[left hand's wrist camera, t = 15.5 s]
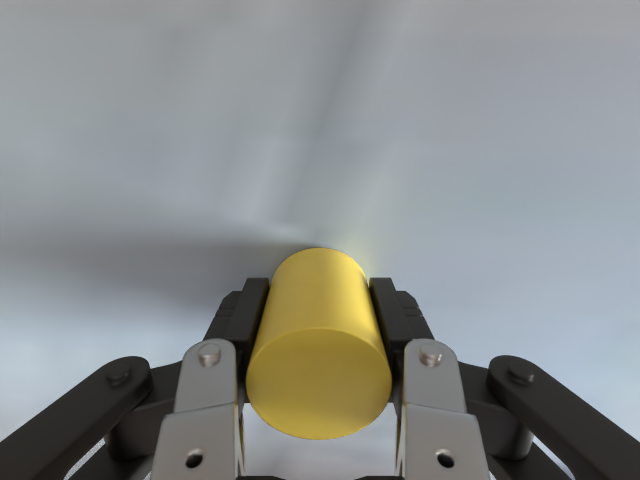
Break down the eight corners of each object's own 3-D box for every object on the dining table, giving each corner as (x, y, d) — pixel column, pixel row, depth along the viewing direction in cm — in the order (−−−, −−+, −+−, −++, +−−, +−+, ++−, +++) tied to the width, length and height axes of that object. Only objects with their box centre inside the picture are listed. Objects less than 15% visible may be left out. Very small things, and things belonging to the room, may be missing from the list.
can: (250, 281, 13) (214, 375, 8) (331, 227, 12) (337, 300, 8) (308, 346, 14) (303, 459, 9) (385, 301, 13) (419, 401, 9)
